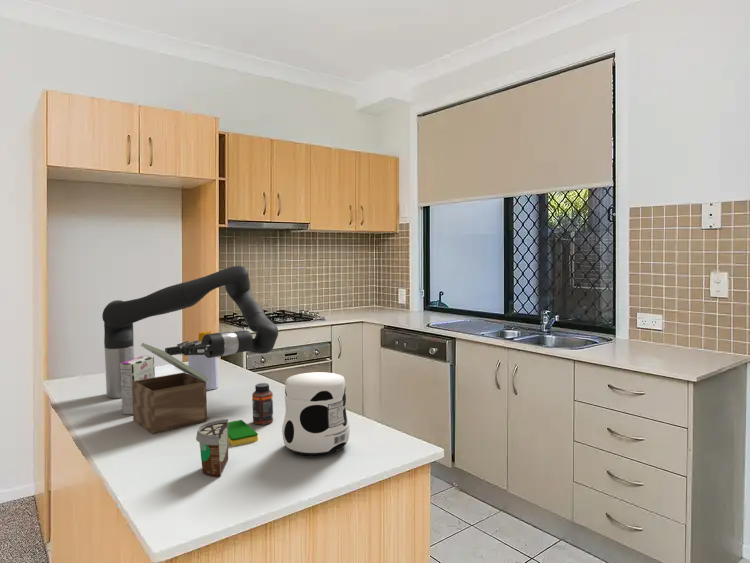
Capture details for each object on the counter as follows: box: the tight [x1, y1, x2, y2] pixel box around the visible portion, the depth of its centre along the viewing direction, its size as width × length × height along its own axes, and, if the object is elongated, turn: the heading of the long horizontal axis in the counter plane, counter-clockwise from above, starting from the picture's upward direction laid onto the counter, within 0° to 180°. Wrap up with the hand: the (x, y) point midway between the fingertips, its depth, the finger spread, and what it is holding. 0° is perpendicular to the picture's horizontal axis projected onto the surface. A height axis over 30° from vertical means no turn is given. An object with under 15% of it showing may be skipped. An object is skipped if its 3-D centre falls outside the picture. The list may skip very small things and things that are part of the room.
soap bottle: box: [187, 330, 220, 391], centre depth 198 cm, size 13×8×20 cm, turn 58°
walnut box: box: [132, 372, 208, 435], centre depth 160 cm, size 16×16×12 cm
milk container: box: [281, 371, 351, 456], centre depth 138 cm, size 17×17×18 cm
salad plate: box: [154, 363, 188, 377], centre depth 212 cm, size 21×21×3 cm
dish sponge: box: [228, 419, 259, 447], centre depth 148 cm, size 7×14×2 cm, turn 32°
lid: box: [140, 342, 208, 382], centre depth 161 cm, size 17×17×1 cm
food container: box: [195, 418, 229, 478], centre depth 126 cm, size 12×6×10 cm, turn 5°
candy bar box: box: [120, 355, 155, 416], centre depth 171 cm, size 11×5×16 cm, turn 168°
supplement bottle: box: [251, 382, 274, 426], centre depth 159 cm, size 6×6×11 cm
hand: (165, 352), depth 159 cm, fingers closed
